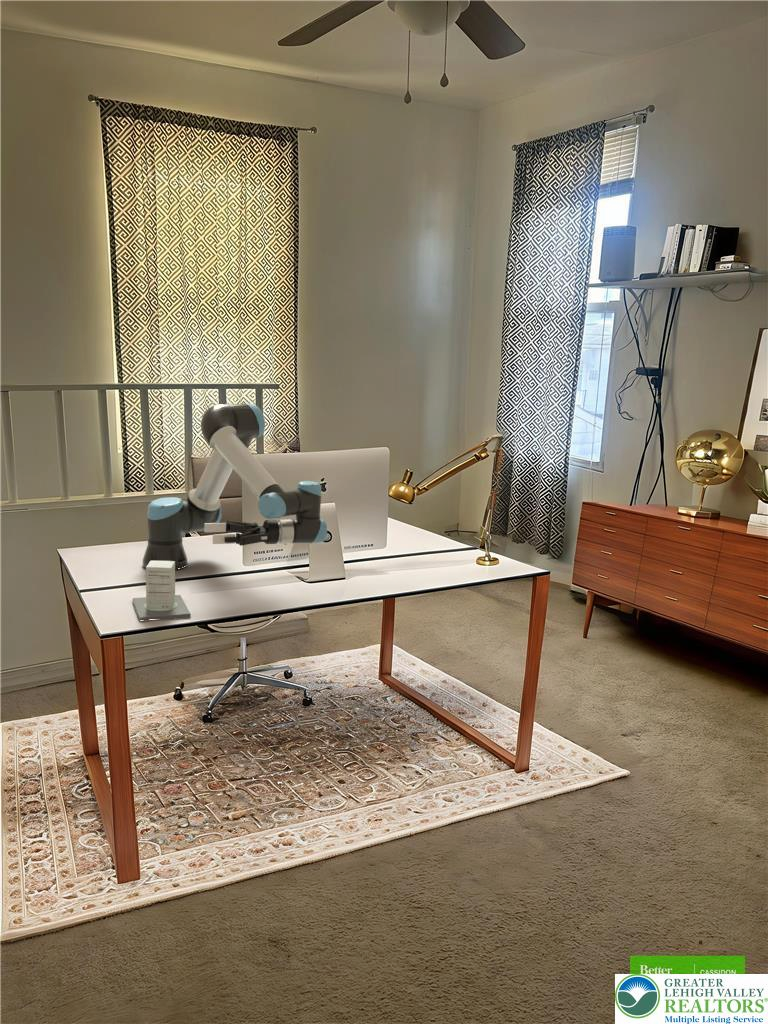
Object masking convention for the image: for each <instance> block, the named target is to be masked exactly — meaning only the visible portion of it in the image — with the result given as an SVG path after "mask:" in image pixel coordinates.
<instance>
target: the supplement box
mask: <svg viewBox="0 0 768 1024" xmlns="http://www.w3.org/2000/svg"><path fill="white" fill-rule="evenodd" d="M145 585H146V586H145V591H146V592H145V593H146V594H145V597H146V608H147V609H172V607H173V605H174V603H175V595H176V570H175V561H150V562H149V564H148V565H147V567H146V568H145Z"/></svg>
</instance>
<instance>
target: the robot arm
mask: <svg viewBox="0 0 768 1024" xmlns="http://www.w3.org/2000/svg"><path fill="white" fill-rule="evenodd" d="M200 421H201V422H200V429H201V431H200V432H201V433H202V434H201V435H202V437H203V439H204V440H205V442H207V444H208V445H209V447H210V448H211V449H212V450H213V451H212V453H211V456H210V457H209V460H208V462H207V463H206V466H205V469H204V470H203V473H202V474H201V477H200V479H199V481H198V483H197V485H196V488H193V489H191V490H190V491H189V492H188V495H187V497H186V499H185V500H182V498H180V497H176V496H175V497H174V496H173V497H172V496H169V497H161V498H157V499H154V500H152V501H150V502H149V504H148V506H147V515H146V517H147V545H146V549H145V551H144V555H143V557H142V567H143V566H144V567H145V568H144V567H143V568H144V569H146V567H147V565H148V564H149V562H150V561H175V569H178V568H182V567H184V566H186V565H187V566H188V556H187V554H186V551H185V548H184V545H183V534H189V533H195V532H197V533H198V532H202V531H203V532H204V533H217V534H212V544H213V545H227V544H228V545H229V544H236V545H239V546H240V547H241V546H248V545H252V544H258V543H264V544H266V545H276V544H279V545H280V544H284V546H287V545H288V544H313V543H314V544H315V543H322V542H324V541H325V540H326V538H327V536H328V526H327V522H326V520H325V519H323V518H321V517H320V515H321V506H322V503H321V502H322V497H323V496H322V485H321V483H319V482H317V481H312V480H303V481H299V482H298V483H297V487H296V489H294V490H293V489H292V490H286V491H285V490H284V489H283V488H282V487H281V486H280V484H279V483H278V482H277V481H276V480H275V479H274V478H273V477H272V475H271V474H270V472H268V471H267V470H266V468H265V467H264V466H263V465H262V463H261V462H260V461H259V460H258V459H257V458H256V457H255V455H254V454H253V453H252V452H251V450H250V449H249V447H250V445H251V443H252V441H253V439H255V440H256V439H258V438H260V437H262V436H263V434H264V432H265V429H266V420H265V417H264V414H263V411H262V410H261V409H260V408H259V406H257V405H255V404H253V403H245V402H244V403H224V404H223V403H218V404H214V405H213V406H210V407H209V408H208V409H206V410H205V412H204V413H203V415H202V417H201V420H200ZM233 470H234V472H235V473H236V474H237V475H238V476H239V477H240V479H241V480H242V481H243V482H244V484H245V485H246V486H247V487H248V488H249V490H251V492H252V493H253V494H254V496H255V497H256V498H257V500H258V503H257V507H258V509H259V513H260V515H261V516H262V517H264V519H265V518H266V519H265V520H264V521H263V524H262V525H259V524H258V522H244V521H236V520H235V521H233V520H226V522H220V521H221V519H222V517H223V516H222V515H223V513H222V511H223V509H222V505H221V501H220V496H221V494H222V492H223V490H224V489H225V486H226V484H227V482H228V481H229V478H230V476H231V474H232V472H233ZM294 515H295V519H291V518H290V519H288V518H287V519H286V518H285V519H283V518H284V517H289V516H294ZM281 518H282V519H281ZM277 519H278V520H277ZM221 532H222V533H223V534H222V533H221ZM228 532H232V533H228ZM218 533H221V534H218ZM187 566H186V567H187ZM182 569H183V568H182Z"/></svg>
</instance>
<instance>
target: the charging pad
mask: <svg viewBox="0 0 768 1024" xmlns="http://www.w3.org/2000/svg"><path fill="white" fill-rule="evenodd" d="M132 604H133V608H134V610H135V609H136V610H135V612H137V613H136V614H137V615H136V616H137V618H138V617H139V618H138V621H139V620H149V619H167V620H179V619H188V618H189V619H190V618H191V612H190V609H188V608H189V607H187V605H186V603H185V601H184V599H183V597H182V595H181V594H175V603H174V605H173V607H172V609H147V608H146V596H143V597H132ZM175 618H176V619H175ZM177 618H178V619H177Z"/></svg>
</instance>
